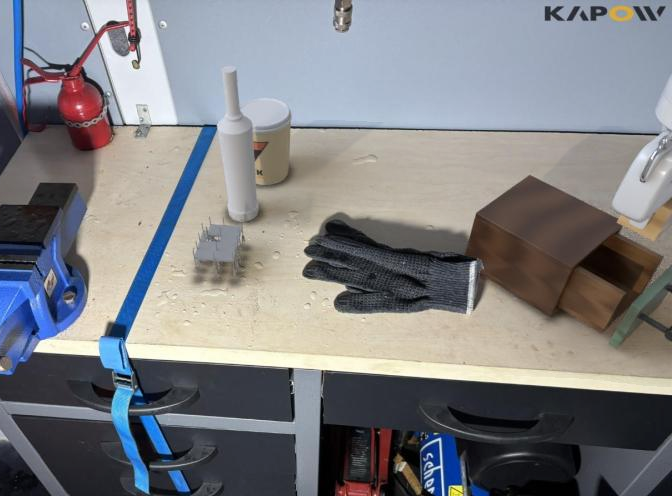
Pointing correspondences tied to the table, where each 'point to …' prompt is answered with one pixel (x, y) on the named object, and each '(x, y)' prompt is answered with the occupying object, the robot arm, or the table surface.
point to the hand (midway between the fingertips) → (651, 212)
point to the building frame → (219, 246)
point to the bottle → (237, 153)
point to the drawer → (617, 288)
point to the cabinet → (537, 240)
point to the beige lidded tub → (269, 138)
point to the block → (652, 222)
